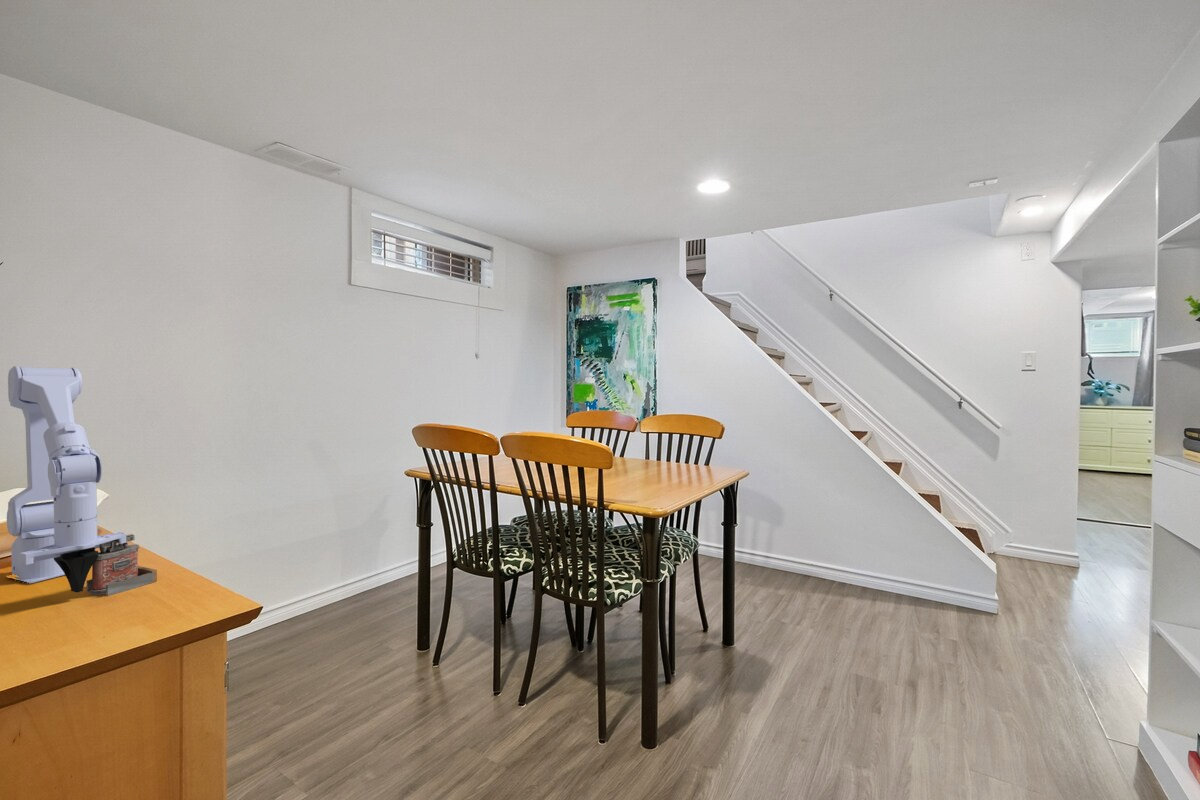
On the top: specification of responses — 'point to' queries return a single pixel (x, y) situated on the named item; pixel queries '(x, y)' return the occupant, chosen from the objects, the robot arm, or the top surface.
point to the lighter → (114, 564)
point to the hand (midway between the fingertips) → (77, 591)
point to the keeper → (130, 581)
